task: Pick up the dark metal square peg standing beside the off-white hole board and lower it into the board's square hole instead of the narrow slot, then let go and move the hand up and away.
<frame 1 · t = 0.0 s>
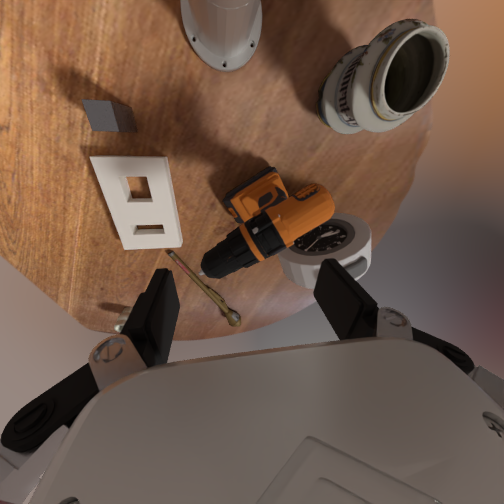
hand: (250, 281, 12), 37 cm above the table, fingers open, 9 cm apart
hole board: (146, 204, 43), on the table
apothecary jar: (338, 99, 38), on the table
alarm clock: (307, 232, 54), on the table
square peg: (123, 120, 35), on the table
power drill: (245, 198, 46), on the table
torque wrench: (209, 289, 60), on the table
valve: (140, 316, 61), on the table
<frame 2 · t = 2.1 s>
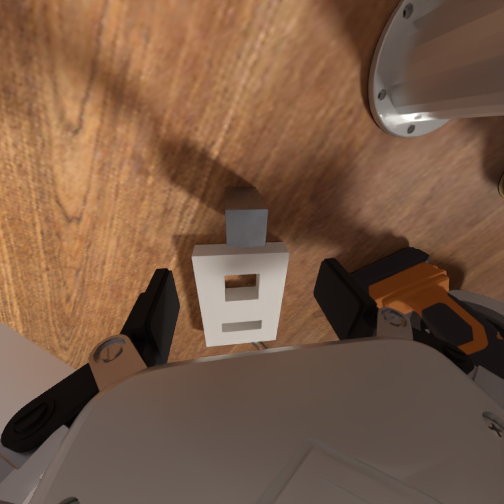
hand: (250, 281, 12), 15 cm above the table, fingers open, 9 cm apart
hole board: (240, 293, 33), on the table
alarm clock: (420, 309, 43), on the table
square peg: (240, 202, 24), on the table
power drill: (363, 280, 35), on the table
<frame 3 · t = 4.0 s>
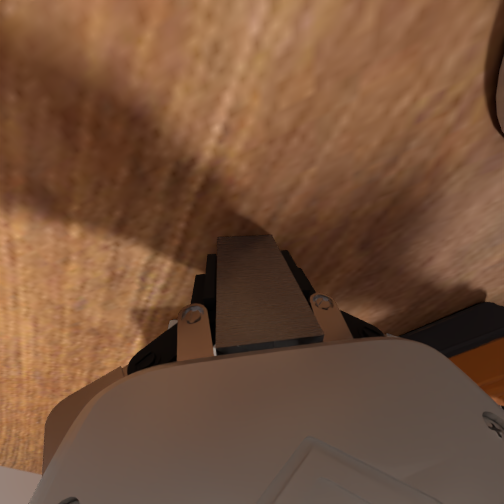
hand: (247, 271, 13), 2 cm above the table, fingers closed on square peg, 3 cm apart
square peg: (244, 258, 14), on the table, touching gripper
power drill: (413, 340, 25), on the table
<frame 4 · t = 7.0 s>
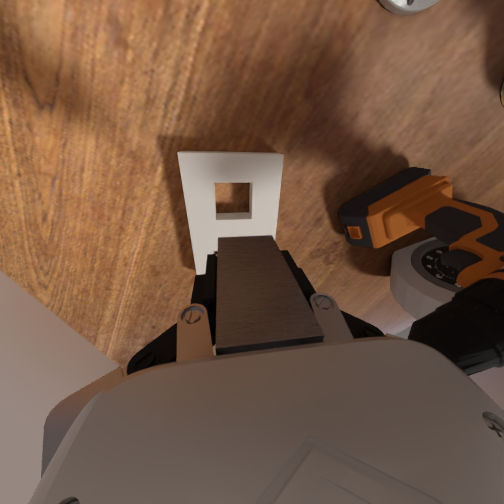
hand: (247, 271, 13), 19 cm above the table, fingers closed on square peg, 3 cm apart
hole board: (233, 220, 31), on the table
alarm clock: (421, 253, 41), on the table
square peg: (245, 258, 14), point 17 cm above the table, touching gripper
power drill: (361, 211, 34), on the table
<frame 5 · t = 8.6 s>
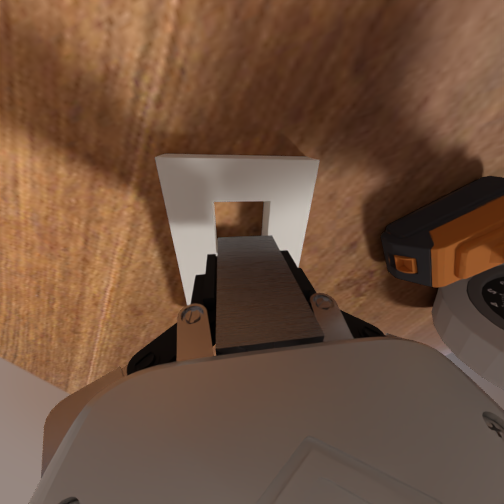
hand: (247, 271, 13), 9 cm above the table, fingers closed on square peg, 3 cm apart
hole board: (239, 248, 23), on the table
alarm clock: (473, 281, 33), on the table
square peg: (245, 259, 14), point 8 cm above the table, touching gripper
power drill: (409, 233, 25), on the table
when the fingers open (4 cm above the table, at t = 10.0 s): square peg drops 2 cm, resting in hole board.
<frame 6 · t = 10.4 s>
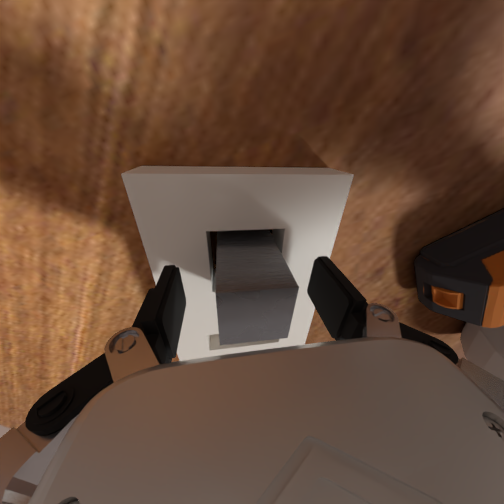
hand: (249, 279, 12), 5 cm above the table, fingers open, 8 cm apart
hole board: (242, 279, 18), on the table
square peg: (241, 242, 16), resting in hole board
power drill: (446, 256, 21), on the table
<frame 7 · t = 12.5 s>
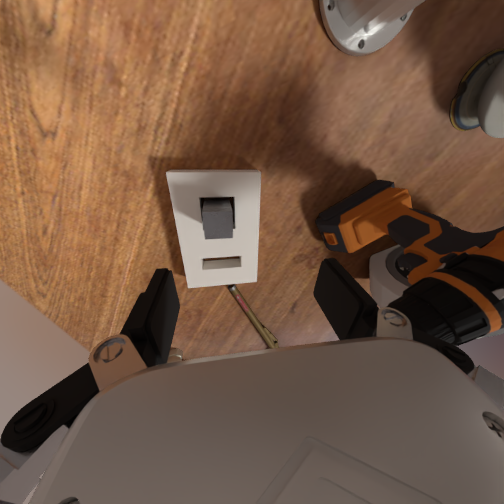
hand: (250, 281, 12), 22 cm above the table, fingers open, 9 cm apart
hole board: (219, 230, 34), on the table
apothecary jar: (478, 94, 30), on the table
alarm clock: (397, 256, 45), on the table
square peg: (217, 208, 32), resting in hole board
power drill: (338, 219, 37), on the table
torque wrench: (261, 327, 49), on the table
valve: (186, 357, 50), on the table
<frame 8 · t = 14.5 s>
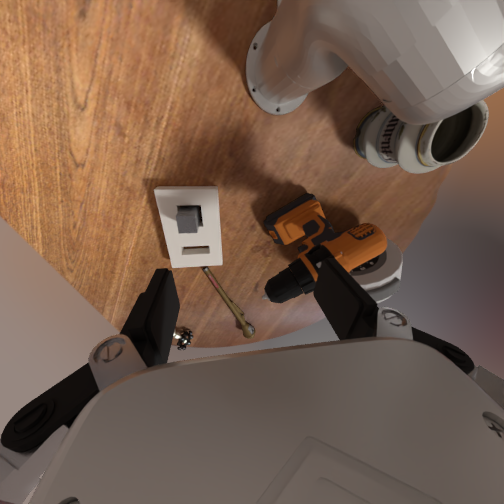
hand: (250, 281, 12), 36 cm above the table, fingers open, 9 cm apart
hole board: (194, 227, 47), on the table
apothecary jar: (373, 135, 42), on the table
alarm clock: (335, 249, 58), on the table
square peg: (191, 211, 45), resting in hole board
power drill: (282, 220, 50), on the table
torque wrench: (231, 302, 64), on the table
valve: (175, 324, 65), on the table
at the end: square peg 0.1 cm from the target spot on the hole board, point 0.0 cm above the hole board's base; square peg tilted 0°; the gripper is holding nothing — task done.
